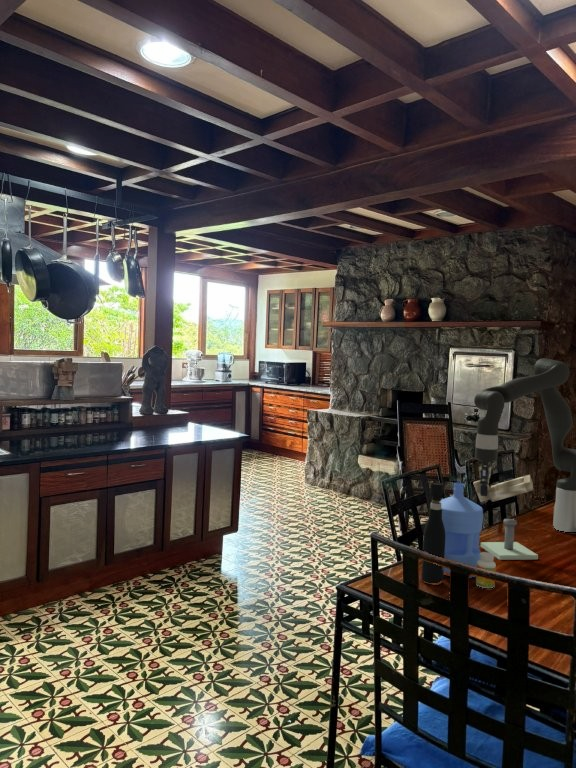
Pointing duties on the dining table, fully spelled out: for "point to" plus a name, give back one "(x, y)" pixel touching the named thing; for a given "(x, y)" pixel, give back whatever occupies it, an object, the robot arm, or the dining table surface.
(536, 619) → the dining table surface
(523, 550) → the post base plate
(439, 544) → the wine bottle
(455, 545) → the water jug
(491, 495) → the birch loop
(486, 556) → the supplement bottle
